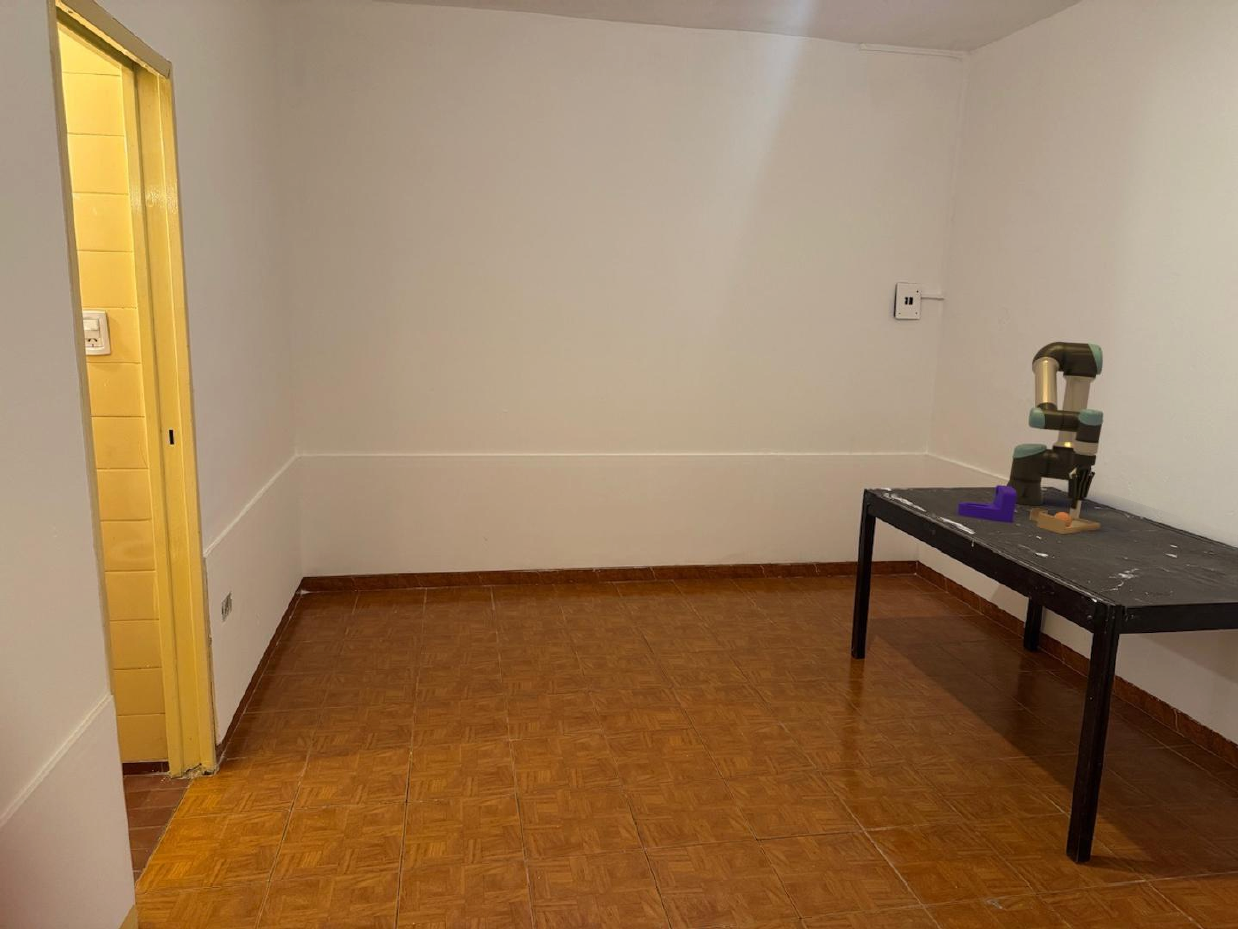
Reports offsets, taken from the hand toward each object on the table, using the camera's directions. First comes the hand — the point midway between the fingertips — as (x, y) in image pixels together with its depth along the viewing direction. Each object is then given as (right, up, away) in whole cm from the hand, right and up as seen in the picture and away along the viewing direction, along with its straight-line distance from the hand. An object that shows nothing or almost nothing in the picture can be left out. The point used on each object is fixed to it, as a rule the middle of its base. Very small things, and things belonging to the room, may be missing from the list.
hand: (1073, 517), depth 311 cm
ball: (-6, -1, -4) cm, 7 cm away
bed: (-2, -4, 0) cm, 4 cm away
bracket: (-29, -1, +9) cm, 30 cm away
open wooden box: (-9, -2, +8) cm, 12 cm away
